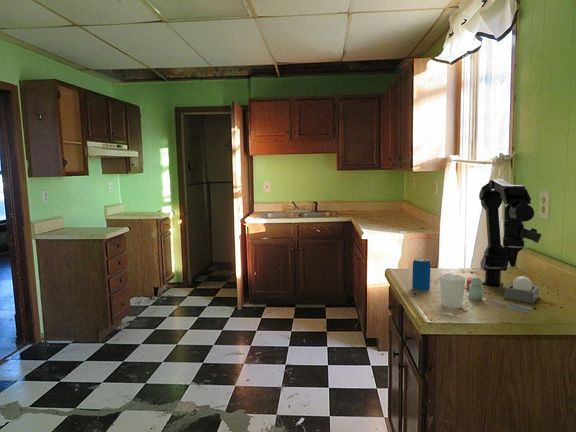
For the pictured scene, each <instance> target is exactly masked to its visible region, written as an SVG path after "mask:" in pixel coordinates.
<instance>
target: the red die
mask: <svg viewBox="0 0 576 432" xmlns="http://www.w3.org/2000/svg"><path fill="white" fill-rule="evenodd" d="M472 278H473V277H466V290H468V291H469V284H471V279H472Z"/></svg>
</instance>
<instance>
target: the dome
mask: <svg viewBox="0 0 576 432" xmlns="http://www.w3.org/2000/svg"><path fill="white" fill-rule="evenodd" d="M512 281H513V282H512V283H513V289H519V290H524V291H530V292H531V291H532V286H533V284H532V281H531V280H530V278H528V277H527V276H524V275H523V276H521V275H520V276H518V277H515V278H514V280H512Z"/></svg>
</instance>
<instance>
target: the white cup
mask: <svg viewBox="0 0 576 432" xmlns="http://www.w3.org/2000/svg"><path fill="white" fill-rule="evenodd" d="M439 277H440V280H439V281H440V289H439V290H440V304H441V306H443V307H445V308H450V309H460V308H462V307H463V301H464V300H463V299H464V295H465V285H466V284H465V283H466V282H465V281H466V278H465V276H462V275H459V274H454V273H453V274H452V273H450V274H441V275H440V276H439Z"/></svg>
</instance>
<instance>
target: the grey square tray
mask: <svg viewBox="0 0 576 432" xmlns="http://www.w3.org/2000/svg"><path fill="white" fill-rule="evenodd" d="M539 291H540V287H539V286H535V285H532V291H531V292H530V291H524V290H519V289H513V282H510V283H509V284H508V285H507V286H505V287H504V299H508V300H512V301H517V302H518V301H519V302H525V303H529V304H534V303H535V302H536V300H537V299H538V298H539V297H540V295H539V294H540V292H539Z"/></svg>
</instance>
